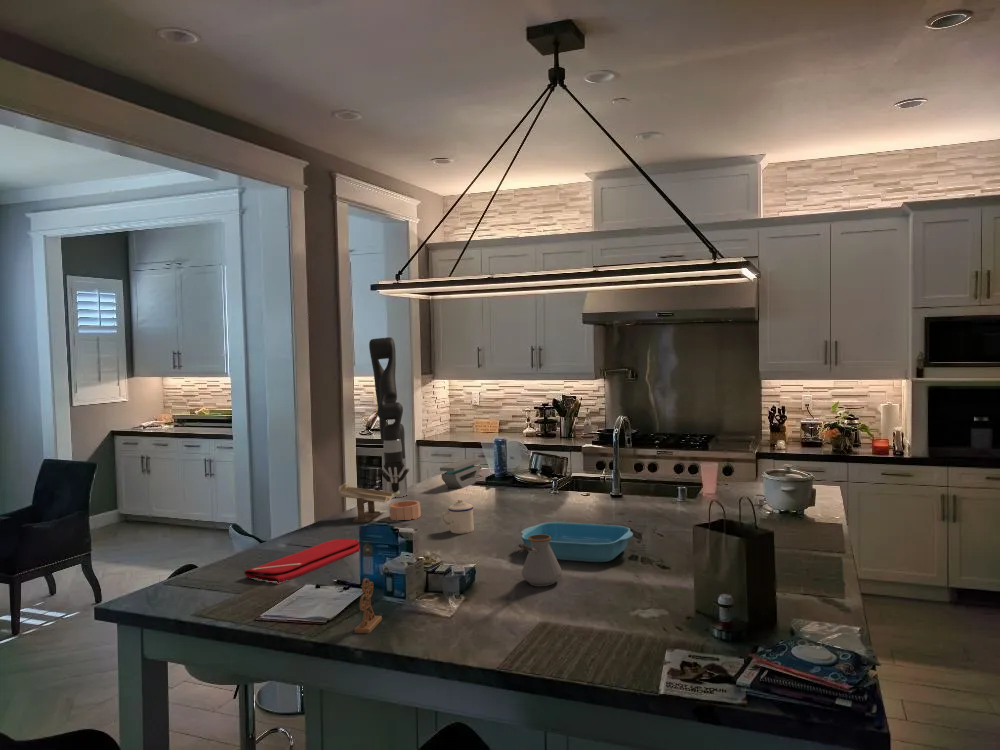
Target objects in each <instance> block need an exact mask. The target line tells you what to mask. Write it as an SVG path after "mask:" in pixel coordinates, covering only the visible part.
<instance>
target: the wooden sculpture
mask: <svg viewBox="0 0 1000 750" xmlns="http://www.w3.org/2000/svg"><path fill="white" fill-rule="evenodd" d="M361 590H362V591H361V592H362V595H361V596H360V599H359V604H358V605H359V607H358V608H359V611H361V612H362V611H363V614H362V620H361V622H360V623H359V624H358V625H357V626H356V627H355V628H354V633H355V634H370V633H371V632H372V631H373V630H374V629H375V628H376V627H377V626H378V624H379V623H381V622H382V620H383V618H382V615H375V612H374V610H373V607H372V603H371V601H372V600H371V597H372V596H373V593H374V582H373V581H370V579H369V578H367V577H366V578H363V580H362V582H361ZM364 599H365V600H364ZM367 609H368V610H367Z"/></svg>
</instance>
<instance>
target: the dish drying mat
mask: <svg viewBox="0 0 1000 750" xmlns="http://www.w3.org/2000/svg"><path fill="white" fill-rule="evenodd" d="M359 542H360V541H359V540H358V539H356V538H355V539H353V538H335V539H332V540H328V541H324V542H322V543H320V544H317V545H314V546H311V547H309V548H307V549H304V550H301V551H298V552H295V553H292V554H290V555H286V556H284V557H282V558H278V559H276V560H275V559H274V560H273V561H270V562H267V563H264V564H261V565H258V566H254V567H252V568H248V569H246V570H244V572H243V573H244V575H245V577H246V578H248V577H250V578H258V579H262V580H268V581H277V582H278V583H279V582H283V581H286V580H289V579H291V580H293V579H292V578H294V579H296V578H298V576H299V577H301V576H304V575H306V574H308V573H310V571H311V572H313V571H316V570H318V569H320V568H322V567H325V566H328V565H329V564H332V563H335V562H337V561H339V560H341V559H343V558H346V557H348V556H351V555H353V554H355V553H357V552H360V551H359ZM315 569H316V570H315ZM305 573H306V574H305ZM303 574H304V575H303ZM300 575H301V576H300ZM295 577H296V578H295ZM289 581H290V580H289ZM286 582H287V581H286Z"/></svg>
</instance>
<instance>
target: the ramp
mask: <svg viewBox="0 0 1000 750" xmlns="http://www.w3.org/2000/svg"><path fill="white" fill-rule="evenodd" d="M349 483H350V482H345V483H343V484H341V485H339V486H338V491H337V492H338V494H337V495H338V497H342V498H348V499H355V500H357V498H362V497H363V498H364V501H368V500H369V501H374V502H376V503H377V502H378V503H383V504H384V503H387V502H388V501H390V500H391V499H394V498H393V497H395V496H397V495H398V494H400V490H398V492H388V491H385V490H378V489H377V490H376V489H369V488H361V487H354V486H349Z"/></svg>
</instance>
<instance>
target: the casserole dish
mask: <svg viewBox="0 0 1000 750" xmlns="http://www.w3.org/2000/svg"><path fill="white" fill-rule="evenodd" d="M520 534H521V539H522V542H523V544H524V545H527V546H529V547H531V542H530V540H529V539H528V537H529V536H533V535H539V534H544V535H549V536H551V539H550V541H549V545H550V547H551V549H552V551H553V553H554V555H555V557H556V559H557V560H561V561H572V562H573V561H575V562H589V563H605V562H610V561H612V560H614V559H616V558H617V557H618V556H619V555H620V554H621V553H622V552H624V550H625V549H626V548H627V545H628V542H629V540H630V539H631V538H632V537H633V536H634V533H633V532H632V531H631V528H630V527H628V526H625V525H623V526H622V525H615V524H614V525H613V524H598V523H597V524H596V523H583V522H564V521H561V522H560V521H551V522H548V521H547V522H542V523H540V524H537V525H536V524H535V525H534V526H533V525H532V526H529V527H526V528H524V529H523V530H521V531H520ZM526 551H527V552H528V553H529V550H526Z"/></svg>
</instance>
